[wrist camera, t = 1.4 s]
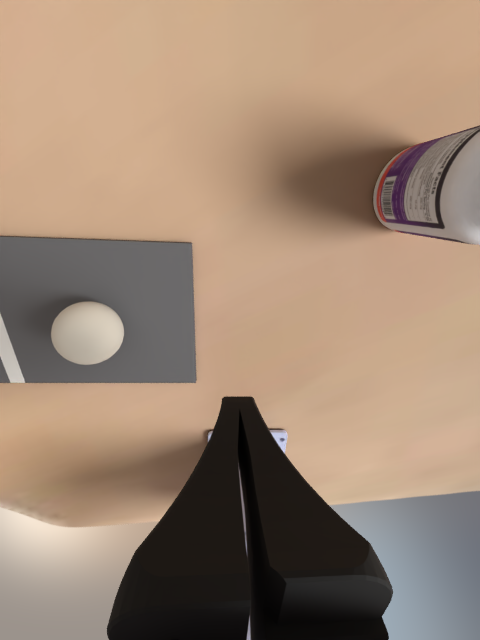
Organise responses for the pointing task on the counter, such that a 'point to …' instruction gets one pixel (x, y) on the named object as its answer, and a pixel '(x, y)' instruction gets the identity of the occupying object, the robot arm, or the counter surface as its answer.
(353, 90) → the counter surface
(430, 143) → the pill bottle
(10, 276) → the lane
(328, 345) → the counter surface
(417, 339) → the counter surface
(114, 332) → the ball
